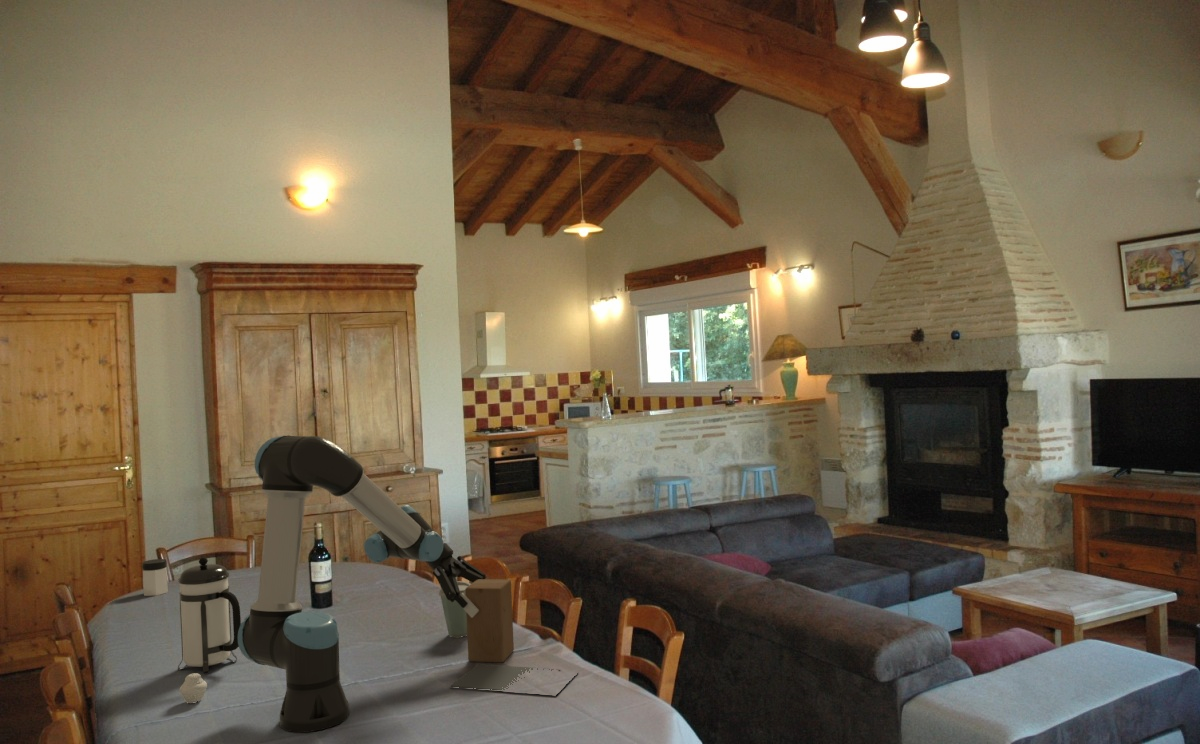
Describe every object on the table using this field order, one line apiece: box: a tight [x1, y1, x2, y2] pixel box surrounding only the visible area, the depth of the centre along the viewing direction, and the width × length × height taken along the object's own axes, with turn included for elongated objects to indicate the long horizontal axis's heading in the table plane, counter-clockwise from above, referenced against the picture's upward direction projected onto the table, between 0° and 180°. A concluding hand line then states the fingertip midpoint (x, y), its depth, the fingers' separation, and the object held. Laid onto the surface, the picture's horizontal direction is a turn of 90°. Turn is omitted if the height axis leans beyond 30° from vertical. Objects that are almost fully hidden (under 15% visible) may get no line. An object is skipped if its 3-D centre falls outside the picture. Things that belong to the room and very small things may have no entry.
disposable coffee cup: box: [438, 580, 472, 638], centre depth 261 cm, size 11×11×15 cm
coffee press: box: [177, 556, 242, 674], centre depth 242 cm, size 17×16×30 cm
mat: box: [449, 663, 558, 690], centre depth 220 cm, size 16×28×1 cm, turn 72°
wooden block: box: [465, 578, 515, 663], centre depth 240 cm, size 10×10×20 cm
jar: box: [141, 558, 168, 597], centre depth 328 cm, size 9×8×12 cm
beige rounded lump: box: [179, 672, 208, 704], centre depth 215 cm, size 6×6×7 cm
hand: (486, 607), depth 240 cm, fingers open, 13 cm apart
